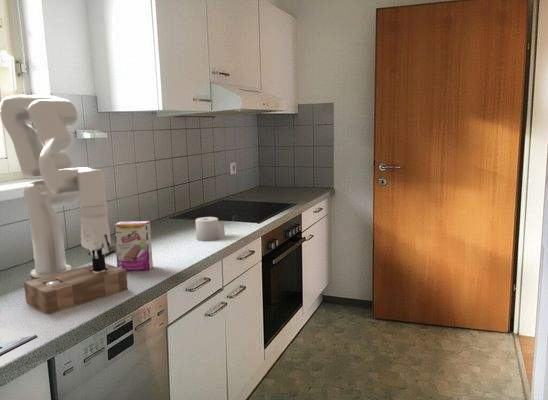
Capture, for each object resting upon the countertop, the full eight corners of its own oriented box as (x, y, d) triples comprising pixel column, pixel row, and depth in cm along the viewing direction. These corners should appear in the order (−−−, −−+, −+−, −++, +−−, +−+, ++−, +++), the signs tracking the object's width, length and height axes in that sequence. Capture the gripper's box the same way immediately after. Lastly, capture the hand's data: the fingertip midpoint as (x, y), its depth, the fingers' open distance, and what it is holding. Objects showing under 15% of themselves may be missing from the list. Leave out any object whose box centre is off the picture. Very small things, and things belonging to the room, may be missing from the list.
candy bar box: (117, 271, 164) (113, 224, 161) (121, 267, 168) (117, 221, 166) (150, 270, 164) (146, 223, 161) (153, 266, 169) (150, 220, 166)
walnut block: (26, 302, 138) (23, 282, 137) (103, 280, 155) (102, 262, 154) (48, 314, 128) (45, 292, 127) (127, 289, 146) (126, 270, 145)
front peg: (45, 301, 136) (43, 282, 136) (58, 297, 139) (56, 279, 138) (51, 304, 134) (49, 285, 133) (63, 300, 137) (61, 282, 136)
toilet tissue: (229, 236, 209) (229, 217, 208) (205, 242, 200) (204, 222, 199) (216, 233, 216) (215, 214, 214) (192, 239, 206) (191, 219, 205)
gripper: (69, 210, 145) (75, 269, 148) (94, 215, 135) (100, 278, 138) (93, 206, 151) (98, 263, 154) (118, 211, 141) (124, 271, 144)
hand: (99, 270), depth 146 cm, fingers closed
